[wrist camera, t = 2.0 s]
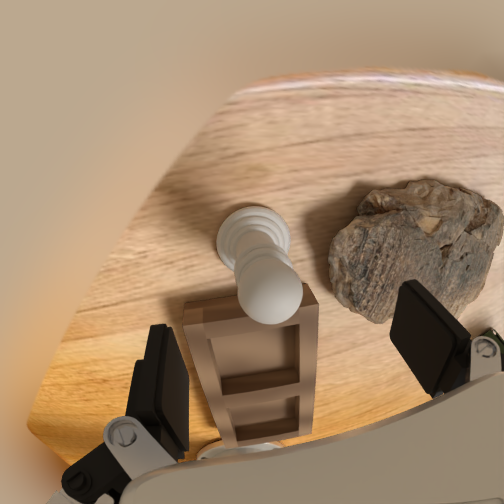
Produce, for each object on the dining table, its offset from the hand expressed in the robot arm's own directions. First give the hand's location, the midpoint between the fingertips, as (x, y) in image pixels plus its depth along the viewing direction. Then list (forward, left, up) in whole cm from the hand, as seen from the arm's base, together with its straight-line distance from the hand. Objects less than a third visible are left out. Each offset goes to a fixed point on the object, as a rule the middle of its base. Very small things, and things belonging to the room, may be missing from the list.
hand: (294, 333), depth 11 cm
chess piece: (-1, 0, -12) cm, 12 cm away
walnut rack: (-15, +1, -12) cm, 19 cm away
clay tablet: (-4, -14, -12) cm, 19 cm away
